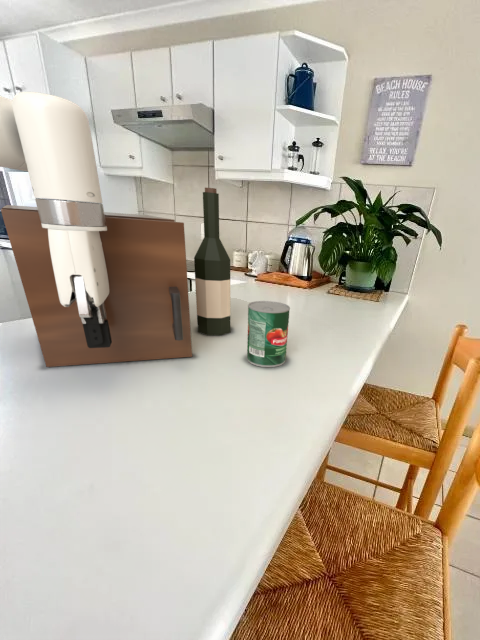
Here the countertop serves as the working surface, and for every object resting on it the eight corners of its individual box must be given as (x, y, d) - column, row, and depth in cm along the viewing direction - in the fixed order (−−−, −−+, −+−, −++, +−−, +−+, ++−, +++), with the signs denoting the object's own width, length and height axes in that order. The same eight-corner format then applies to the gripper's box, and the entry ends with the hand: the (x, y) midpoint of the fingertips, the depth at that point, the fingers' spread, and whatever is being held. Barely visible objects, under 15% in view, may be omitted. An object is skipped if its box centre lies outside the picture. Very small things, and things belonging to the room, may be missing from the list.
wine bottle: (237, 333, 78) (238, 190, 65) (204, 337, 74) (198, 185, 60) (223, 323, 84) (221, 190, 71) (191, 326, 80) (183, 186, 66)
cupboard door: (196, 368, 59) (187, 224, 48) (37, 381, 50) (-16, 209, 39) (191, 354, 64) (183, 222, 53) (47, 364, 55) (2, 209, 45)
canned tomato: (251, 350, 69) (252, 298, 64) (287, 354, 69) (291, 303, 64) (242, 365, 62) (243, 308, 57) (283, 369, 62) (287, 313, 57)
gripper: (57, 214, 48) (83, 331, 56) (17, 215, 36) (59, 366, 44) (112, 218, 50) (130, 330, 59) (94, 220, 38) (120, 363, 46)
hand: (100, 345), depth 51 cm, fingers closed
